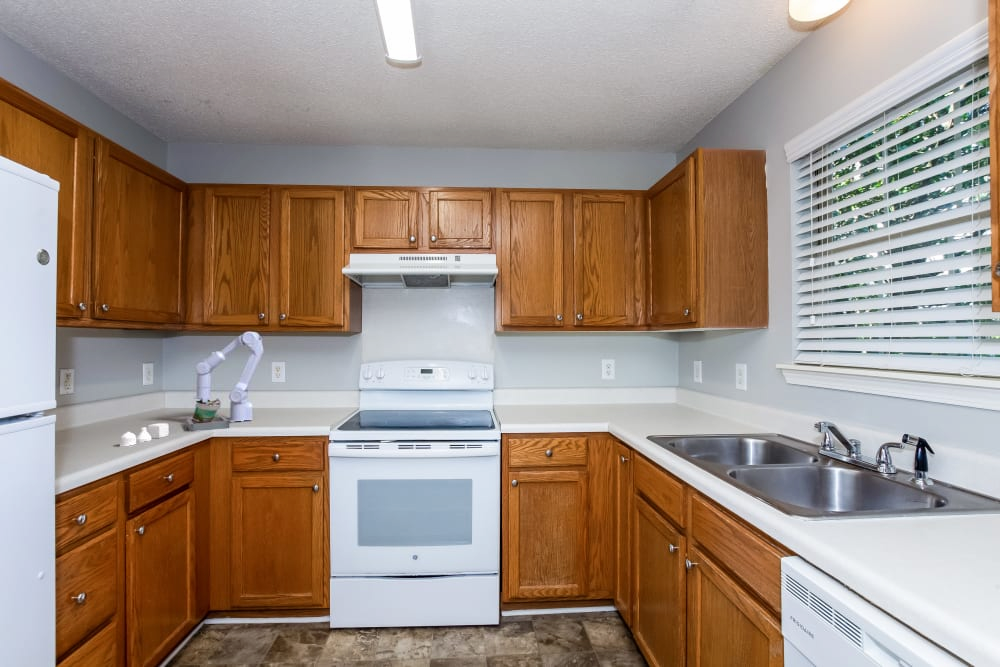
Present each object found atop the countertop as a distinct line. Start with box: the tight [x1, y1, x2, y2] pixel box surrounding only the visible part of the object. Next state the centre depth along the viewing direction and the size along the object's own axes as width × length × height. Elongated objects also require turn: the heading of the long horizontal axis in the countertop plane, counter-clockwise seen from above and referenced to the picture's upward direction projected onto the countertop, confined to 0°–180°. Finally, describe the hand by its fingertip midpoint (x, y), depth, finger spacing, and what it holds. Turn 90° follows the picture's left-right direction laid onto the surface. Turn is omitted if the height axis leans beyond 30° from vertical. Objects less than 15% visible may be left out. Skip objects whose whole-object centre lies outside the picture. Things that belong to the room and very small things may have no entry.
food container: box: [191, 398, 221, 424], centre depth 226 cm, size 12×6×10 cm, turn 167°
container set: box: [119, 422, 170, 447], centre depth 188 cm, size 20×5×6 cm, turn 177°
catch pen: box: [185, 415, 230, 432], centre depth 218 cm, size 15×16×3 cm
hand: (203, 415), depth 230 cm, fingers open, 2 cm apart
